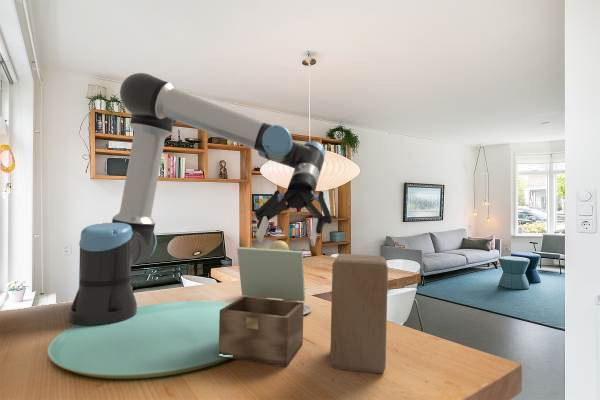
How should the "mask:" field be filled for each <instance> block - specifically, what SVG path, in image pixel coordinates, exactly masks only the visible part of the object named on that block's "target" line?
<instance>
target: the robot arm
mask: <svg viewBox="0 0 600 400" xmlns="http://www.w3.org/2000/svg"><path fill="white" fill-rule="evenodd" d="M119 95H120V96H119V97H120V100H121V103H122V104H123V106H124V108H125V109H126V110H127V111H128V112H129V113H130V114H131V116H130V121H129V126H130V127H131V129H132V130H133V136H132V142H131V147H130V148H131V149H130V154H129V160H128V165H127V169H126V170H127V171H126V175H125V181H124V188H123V191H122V192H123V193H122V198H121V203H120V207H119V212H118V213H117V214H115V215H114V216H112V220H111V222H103V223H95V224H91V225H87V226H85V227H84V228H83V229H81V232H80V238H79V244H78V245H79V264H78V265H79V269H78V270H79V271H78V273H79V274H78V279H79V280H78V289H77V292H76V294H75V297H74V300H73V302H72V305H71V308H70V310H69V321H70V322H71V323H73V324H77V325H84V326H85V325H89V326H90V325H91V326H93V325H95V326H96V325H103V324H104V325H105V324H111V323H117V322H121V321H124V320H127V319H129V318H132V317H134V316H135V315H136V314H137V312H138V310H137V309H138V305H137V304H138V303H137V300H136V297H135V295H134V291H133V288H132V285H131V270H132V266H134V265H139V264H142V263H143V262H144V261H146V260H147V259H148V258H150V257H151V256H152V255H153V254H154V252H155V250H156V247H157V243H158V241H157V236H156V233H155V225H156V221H155V220H154V218H152V211H153V205H154V201H155V195H156V190H157V186H158V185H157V184H158V179H159V174H160V168H161V162H162V156H163V152H164V148H165V147H164V146H165V140H166V139H167V138H168V137H170V136H171V135H172V131H173V127H174V125H175V124H176V123H177V122H179V123H181V124H184V125H187V126H190V127H193V128H195V129H197V130H201V131H203V132H206V133H209V134H211V135H215V136H217V137H220V138H222V139H225V140H229V141H231V142H233V143H236V144H239V145H242V146H245V147H247V148H250V149H252V150H255V151H258V152H257V153H258V155H259V156H260V157H261V158H264V159H266V160H267V161H272V162H275V163H277V164H280V165H284V166H287V167H290V168H292V169H293V172H292V175H291V178H290V181H289V183H288V185H287V189H286V191H285V192H280V191H279V189H278V190H274V192H273V194H272V196H271V197H270V198H269V199H268V200H266V201H265V202H264V203H263V204H262V205H261V206H260V207H258V209H256V210H255V212H254V215H255V218H256V220H257V221H258V223H257V224H256V228H257V232H256V234H255V237H256V239H257V241H258V243H261V244H262V243H263V240H264V237H265V235H266V232H267V230H268V227H269V225H270V223H269V221H270V220H271V219H273V218H274V217H276V216H278V215H279V214H281V213H282V212H284V211H287V210H289V209H303V208H305V210H307V212H309V213H310V214H311V215H312V217H313V219H314V221H313V224H312V229H311V230H310V231H311V233H310V236H309V241H310V245H311V247H316V242H317V237H318V235H321V234H322V233H323V229H324V226H325V224H332V222H333V220H332V215H331V212H330V210H329V208H328V205H327V204H326V201H325V194H324V192H323V190H322V191H321V190H320V191H319V192H318V193H315V192H316V189H317V185H318V183H319V182H318V181H319V178H320V176H321V171H322V169H323V166H324V162H325V155H326V150H325V148H324V146H323V145H322V144H321V143H320V142H318V141H313V140H312V141H307V142H305V143H304V144H301V143H299V142H295V141H294V140H293V136H292V134H291V132H290V131H289V130H288V129H287V128H286V127H284V126H283V125H275V124H274V125H272V124H269V123H267V122H264V121H262V120H258V119H256V118H252V117H250V116H248V115H245V114H242V113H239V112H236V111H235V110H231V109H229V108H227V107H223V106H221V105H218V104H215V103H213V102H211V101H208V100H204V99H203V98H199V97H197V96H194V95H191V94H189V93H186V92H184V91H180V90H178V89H175V87H174V84H173V83H171V82H168V81H165V80H162V79H160V78H159V77H156V76H154V75H152V74H148V73H145V72H138V73H133V74H131V75H129V76H128V77H125V79H124V80H123V82H122V84H121V85H120V89H119ZM315 200H316V202H317V203H319V207H320V208H321V212H322V213H321V212H320V210H318V208H317V207H316V206H315V205H314V204H313V203H312V202H314V201H315Z"/></svg>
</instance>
